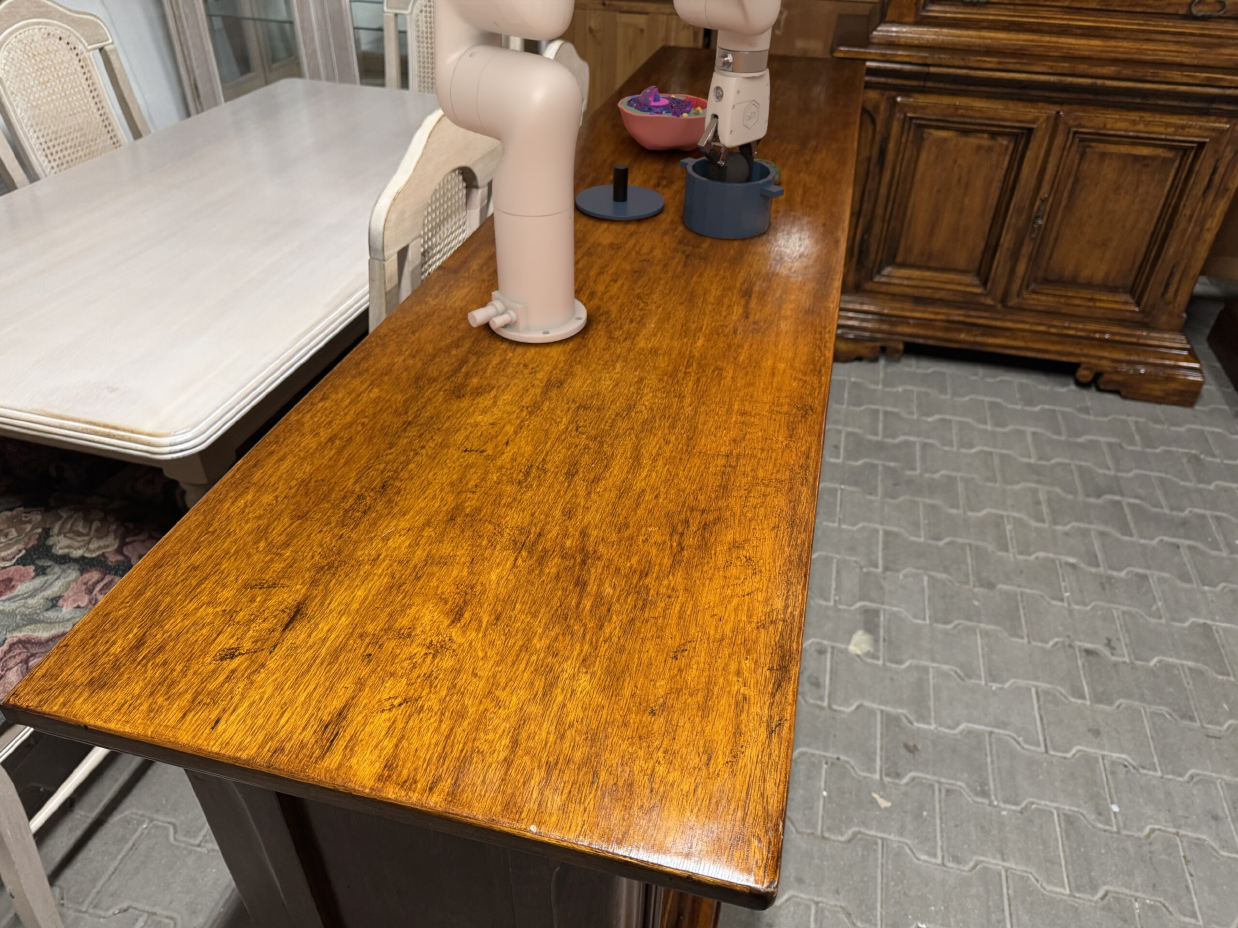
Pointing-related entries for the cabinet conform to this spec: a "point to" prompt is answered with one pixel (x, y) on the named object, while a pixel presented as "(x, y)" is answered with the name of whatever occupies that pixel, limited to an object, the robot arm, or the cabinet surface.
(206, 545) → the cabinet surface
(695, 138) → the cell model
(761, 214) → the pot
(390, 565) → the cabinet surface
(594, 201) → the lid
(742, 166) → the light bulb
